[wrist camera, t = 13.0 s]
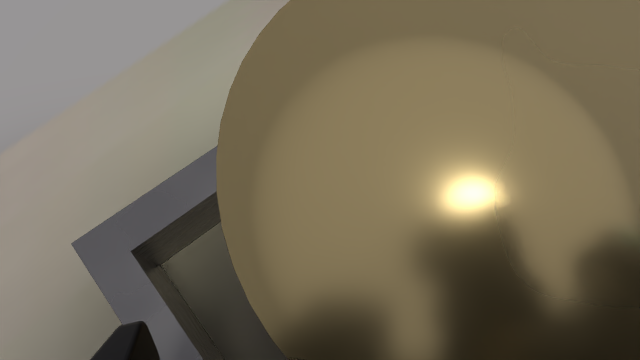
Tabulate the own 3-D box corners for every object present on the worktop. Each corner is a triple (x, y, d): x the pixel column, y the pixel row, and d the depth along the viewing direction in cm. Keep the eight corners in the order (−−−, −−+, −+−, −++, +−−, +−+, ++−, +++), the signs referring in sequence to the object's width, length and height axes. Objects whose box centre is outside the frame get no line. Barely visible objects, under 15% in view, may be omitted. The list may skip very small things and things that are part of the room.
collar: (313, 566, 13) (317, 630, 11) (111, 258, 16) (71, 243, 13) (569, 316, 16) (628, 314, 13) (362, 85, 18) (374, 40, 16)
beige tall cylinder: (331, 385, 15) (498, 654, 3) (253, 278, 16) (106, 107, 4) (429, 300, 16) (881, 207, 4) (349, 203, 17) (495, -131, 5)
